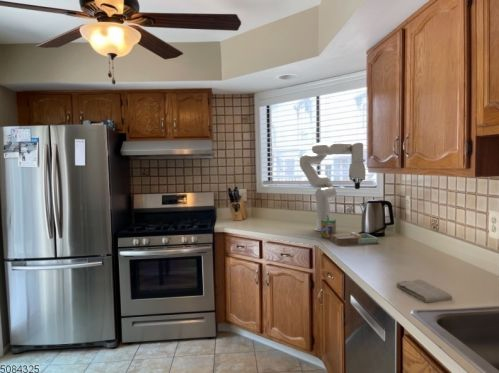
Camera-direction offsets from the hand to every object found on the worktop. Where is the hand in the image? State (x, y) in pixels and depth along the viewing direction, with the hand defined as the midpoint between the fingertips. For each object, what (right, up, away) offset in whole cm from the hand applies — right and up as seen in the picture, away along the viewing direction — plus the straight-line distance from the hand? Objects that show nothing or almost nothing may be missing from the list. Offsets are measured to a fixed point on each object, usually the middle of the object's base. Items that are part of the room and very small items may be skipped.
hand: (357, 188), depth 231 cm
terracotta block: (-6, -31, -18) cm, 36 cm away
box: (-1, -33, -13) cm, 35 cm away
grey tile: (-7, -30, -11) cm, 33 cm away
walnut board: (-13, -33, -14) cm, 39 cm away
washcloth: (-6, -40, -99) cm, 107 cm away
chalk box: (-18, -33, +3) cm, 38 cm away
